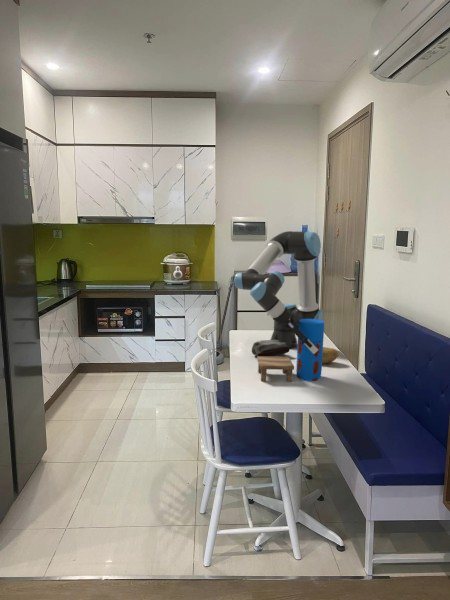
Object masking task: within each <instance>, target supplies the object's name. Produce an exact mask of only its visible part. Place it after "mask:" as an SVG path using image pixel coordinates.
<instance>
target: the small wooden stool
mask: <svg viewBox="0 0 450 600" xmlns="http://www.w3.org/2000/svg"><path fill="white" fill-rule="evenodd" d="M256 357H257V358H256V359H257V363H258V364H257V365H258V368H257V373H258V374H260V382H267V370H281V371H282V374H286V382H289V383H292V382H293V371H294V370H295V366H294V364H293V362H292V361H291V359H290V357H289V356H274V357H273V356H257V355H256Z"/></svg>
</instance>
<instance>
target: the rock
mask: <svg viewBox="0 0 450 600" xmlns="http://www.w3.org/2000/svg"><path fill="white" fill-rule="evenodd" d="M290 349H291V348H288V347H287V344H286V343H285V342H282V343H281V341H278V340H270V339H265V340H259V341H256V342H254V343H253V344H252V347H251V353H252V355H254V356H256V357H257V356H273V357H279V356H284V355H286V354H287V353H289V352H290Z"/></svg>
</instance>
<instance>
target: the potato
mask: <svg viewBox="0 0 450 600" xmlns="http://www.w3.org/2000/svg"><path fill="white" fill-rule="evenodd" d="M338 357H339V351H338V350H337V349H336V348H333V347H326V346H323V355H322V365H323V364H328V363H329V364H330V363H331V362H332V363H333V362H334V361H335V360H336V359H338Z"/></svg>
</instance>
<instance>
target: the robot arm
mask: <svg viewBox="0 0 450 600" xmlns="http://www.w3.org/2000/svg"><path fill="white" fill-rule="evenodd" d="M321 243H322V242H321V239H320V236H319V235H318V234H317V233H316V232H314V231H308V230H307V231H291V230H288V231H283V232H280V233H278V234H277V235H275V236H273V237H272V238H271V239H270V240H269V241H268V242H267V243H266V245H265V248H264V249H263V251H262V252H261V253H260V254H259V256H258V257H257V258H256V259H255V260H254V261H253V262H252V264H250V266H249V267H248V268H247V269H246V270H245V272H242V271H241V272H237V273H236V274H235V276H234V279H233V283H234V286H235V288H236V289H239V290H246V291H249V295H250V296H251V298H252V299H253V300H254V301H255V302H256V303H257V304H258V305H259V306H260V307H261V308H262V309H263V310H264V311H265V312H266V313H267V314H266V315H267V316H270V318H271V319H273V332H272V334H271V337H270V339H269V340H278V341H281V343H282V342H285V343H286V344H287V347H288V348H289V349H293V348H297V346H298V338H299V339H300V340H301V341H302V345H303V344H305V345H306V347H307V348H308V349H309V350H310V351H311V352H312V353H313V354H315V353H316V352H317V351H318V349H317V348H316V347H315V346H314V344H313V343H312V342H311V341H310V340H309V339H308V338H306V337H305V335H304V334H303V333H302V332H301V331H300V330H299V329H298V327H299V320H301V319H317V320H322V321H323V319H324V311H323V310H322V309H320V305H319V304H318V303H317V299H316V298H317V296H316V295H317V294H316V278H315V277H316V275H315V260H317V258H318V256H319V255H320V253H321V247H322V246H321ZM283 255H293V260H294V261H295V262H296V265H297V266H296V267H297V268H296V269H297V283H298V284H297V285H298V297H299V298H298V300H299V302H298V304H296V303H283V302H282V301H281V300H280V299H279V298H278V297H277V296H276V295H277V294H278V293H279V291H280V290H281V288H282V287H283V285H284V284H285V276H284V275H283V273H282V272H281V271H279V270H278V271H277V270H272V271H271V272H270V273H268V274H266V273H267V271H268V270H269V269H270V267H271V266H272V265H273V264H274V263H275V262H276V260H277V259H278V258H281V257H282V256H283ZM304 338H305V339H304ZM303 339H304V340H303Z"/></svg>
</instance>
